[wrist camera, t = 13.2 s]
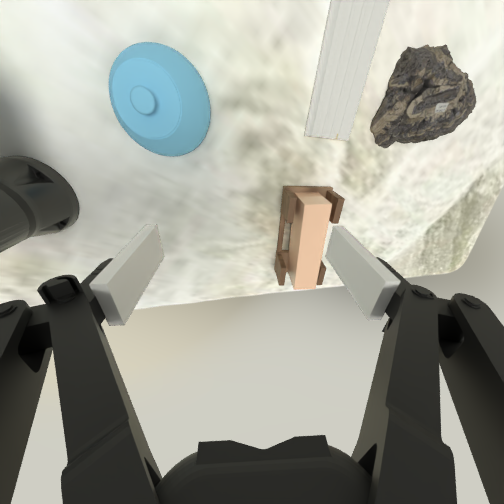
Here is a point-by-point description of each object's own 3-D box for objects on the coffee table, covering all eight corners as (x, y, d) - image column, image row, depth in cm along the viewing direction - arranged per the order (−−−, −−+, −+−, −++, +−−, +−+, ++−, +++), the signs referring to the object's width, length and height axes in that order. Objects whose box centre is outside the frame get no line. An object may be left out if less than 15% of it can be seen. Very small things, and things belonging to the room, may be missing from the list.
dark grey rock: (376, 54, 34) (366, 152, 42) (390, 46, 31) (377, 154, 39) (493, 28, 33) (461, 133, 41) (521, 17, 30) (481, 133, 38)
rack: (274, 269, 55) (278, 287, 49) (283, 185, 44) (290, 195, 38) (312, 269, 56) (321, 286, 50) (330, 186, 45) (345, 196, 39)
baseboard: (295, 134, 40) (345, 140, 41) (299, 135, 37) (351, 141, 38) (348, -159, 24) (426, -138, 25) (361, -190, 22) (445, -166, 23)
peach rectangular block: (287, 269, 54) (293, 289, 47) (294, 192, 44) (304, 204, 37) (305, 268, 54) (315, 288, 48) (317, 192, 44) (332, 204, 37)
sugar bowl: (137, 155, 40) (104, 165, 30) (108, 49, 32) (50, 14, 22) (216, 153, 40) (208, 162, 30) (205, 49, 33) (191, 15, 23)
